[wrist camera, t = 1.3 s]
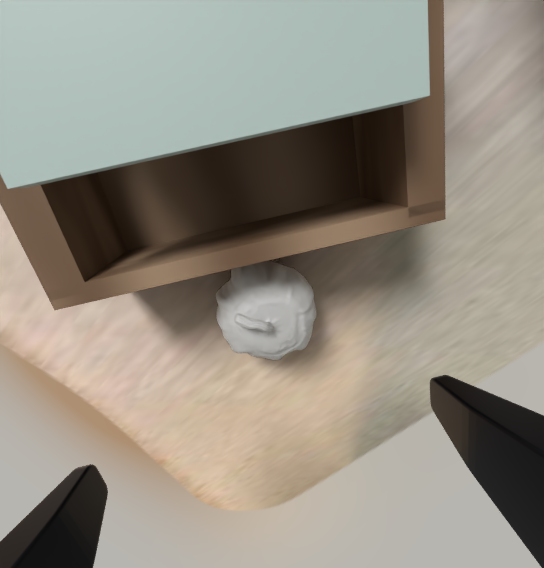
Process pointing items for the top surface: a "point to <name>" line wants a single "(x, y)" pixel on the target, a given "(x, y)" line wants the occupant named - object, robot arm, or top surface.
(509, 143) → the top surface
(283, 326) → the garlic
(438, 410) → the robot arm
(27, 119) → the trapdoor plate
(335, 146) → the frame
